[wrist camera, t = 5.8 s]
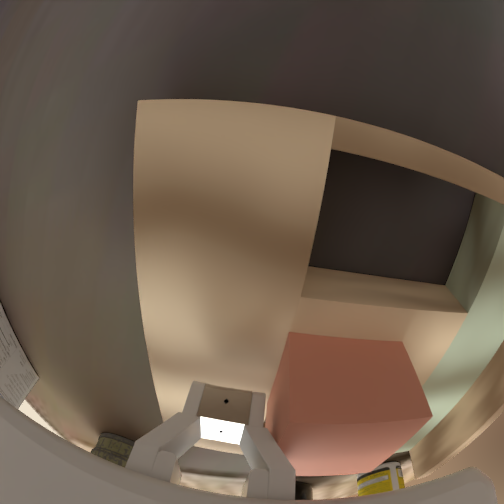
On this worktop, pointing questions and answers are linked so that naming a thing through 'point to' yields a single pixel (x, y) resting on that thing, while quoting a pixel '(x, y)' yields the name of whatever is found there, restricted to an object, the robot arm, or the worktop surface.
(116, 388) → the worktop surface
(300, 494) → the supplement bottle
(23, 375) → the light bulb box
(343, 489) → the worktop surface
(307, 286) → the board
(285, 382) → the block
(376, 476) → the supplement bottle
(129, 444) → the thermos
